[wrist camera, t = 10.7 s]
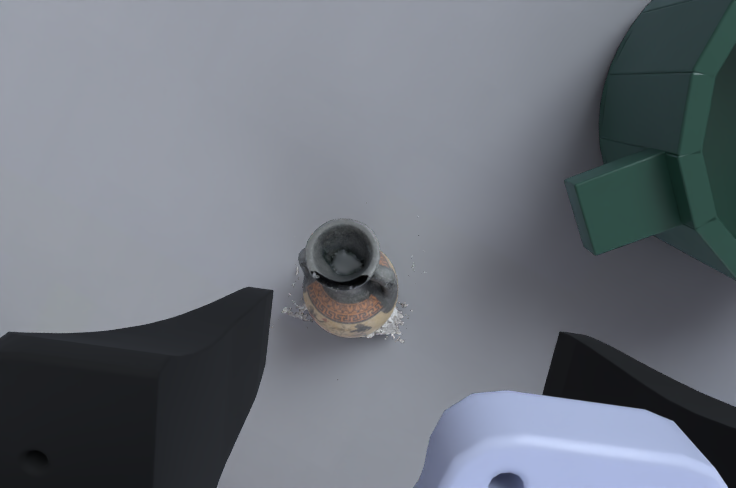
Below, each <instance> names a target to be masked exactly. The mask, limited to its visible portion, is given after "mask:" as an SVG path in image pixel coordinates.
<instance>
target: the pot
mask: <svg viewBox="0 0 736 488" xmlns="http://www.w3.org/2000/svg"><path fill="white" fill-rule="evenodd" d="M599 137H600V148H601V153H602V158H603V163H604V165H602V166H599V167H596V168H594V169H591V170H588V171H586V172H583V173H580V174H578V175H575V176H572V177H570V178H567V179H565V180H564V183H565V186H566V189H567V193H568V196H569V199H570V203H571V206H572V209H573V213H574V216H575V219H576V223H577V226H578V229H579V233H580V236H581V239H582V243H583V246H584V247H585V248H586V249H587V250H589V251H590V252H591V253H592V254H594V255H599V254H602V253H605V252H608V251H610V250H613V249H616V248H619V247H622V246H624V245H627V244H630V243H633V242H636V241H638V240H641V239H644V238H647V237H650V236H652V235H653V236H655V237H657V238H659V239H661V240H662V241H664V242H666V243H668V244H670V245H672V246H673V247H675V248H677V249H679V250H681V251H682V252H684V253H686V254H688V255H690V256H692V257H693V258H695V259H697V260H699V261H701V262H703V263H704V264H706V265H708V266H710V267H712V268H714V269H715V270H717V271H719V272H721V273H723V274H724V275H726V276H728V277H730V278H732V279H734V280H735V281H736V0H652V1H651V2H650V3H649V4H648V5H647V6H646V7H645V9H644V10H643V11H642V13H641V14H640V15H639V17H638V18H637V19H636V20H635V22H634V23H633V24H632V26H631V27H630V29H629V31H628V32H627V34H626V36H625V37H624V39H623V41H622V42H621V44H620V46H619V48H618V50H617V52H616V55H615V57H614V59H613V61H612V63H611V66H610V69H609V72H608V75H607V78H606V81H605V84H604V89H603V94H602V99H601V104H600V115H599Z"/></svg>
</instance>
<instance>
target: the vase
mask: <svg viewBox="0 0 736 488" xmlns="http://www.w3.org/2000/svg"><path fill="white" fill-rule="evenodd" d="M366 203H367V202H366ZM417 217H418V216H417ZM418 236H419V235H418ZM411 259H412V258H411ZM298 261H299V264H300V267H301V268H302V270H303V273H304V280H303V287H302V288H303V297H304V301H305V303H303V304H302V305H301V306H299V305H297V304H295V302H294V303H293V304H295V305H296V306H297V307H296V308H299V312H296V313H295V314H293V312H292V311H291V309H292V308H290V310H288V308H287V307H284V309H283V310H282V311H283V312H281V313H288V315H289V316H293V317H296V318H298V317H300V318H301V319H302V320H304V321H309V319H308V320H306V317H307V316H308V314H306V315H304V313H303V312H304V311H305V310H307V309H308V311H309V313H310V314H309V315H311V316H312V318H313V319H314V320H315V322H316V323H317V324H318V325H319V326H321V327H322V328H323V329H324V330H326V331H328V332H329V333H331V334H334V335H336V336H340V337H346V338H357V337H367V338H368V337H369V338H371V337H373V336H374V335H382V334H386V335H387V334H392V335H391V336H393V338H395V336H394V335H393V334H398V335H401V332H400V331H399V328H398V324H401V325H402V326H403V323H404V322H402V321H401V320H400V319H401V318H403V315H402V311H398V310H397V308H398V307H396V306H395V305H396V302H397V297H398V280H397V276H396V272H395V270H394V267H393V265H392V263H391V262H390V260H389V259H388V258H387V257H386V255H385V254H383V253H382V252H381V251H380V247H379V242H378V240H377V238H376V236H375V234H374V232H373V231H372V230H371V229H370V228H369V227H368V226H366V225H365V224H363V223H361V222H358V221H356V220H352V219H335V220H331V221H329V222H326V223H325V224H323V225H322V226H321V227H319V228H318V229H317V230H316V231H315V232H314V233H313V234H312V235H311V237H310V238H309V240H308V241H307V245H306V248H304V249H303V250H302V251H301V252H300V253H299V257H298ZM413 264H414V263H413ZM295 265H296V264H295ZM414 266H415V265H414ZM412 268H413V265H412ZM413 271H415V270H414V269H413ZM426 273H427V272H426ZM297 274H298V267H297V273H296V275H297ZM421 274H422V273H421ZM408 276H409V275H408ZM298 280H299V278H298ZM295 282H296V281H295ZM415 284H416V283H415ZM292 286H293V287H294V283H293V284H292ZM289 295H290V296H291V293H290V294H289ZM301 300H303V299H302V298H301ZM291 301H292V302H293V300H291ZM398 303H399V304H400V302H398ZM404 303H405V304H403V303H402V304H403V305H402V304H401V305H402V307H407V306H408V304H406V302H404ZM410 311H411V310H410ZM412 311H413V309H412ZM406 315H407V314H406ZM313 319H310V322H313ZM407 319H409V318H407ZM278 320H279V319H278ZM311 320H312V321H311ZM273 325H274V324H273ZM406 326H407V325H406ZM271 328H273V327H271ZM307 328H308V327H307ZM406 329H407V328H406ZM402 335H403V334H402ZM386 337H388V336H386ZM399 338H400V337H398V339H397V341H398V340H399ZM384 339H385V340H386V338H384ZM404 341H405V340H401V339H400V342H401V343H404ZM395 342H396V341H395ZM337 380H338V379H337Z"/></svg>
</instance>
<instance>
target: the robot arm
mask: <svg viewBox="0 0 736 488" xmlns="http://www.w3.org/2000/svg"><path fill="white" fill-rule="evenodd" d="M272 299H273V290H267V289H260V288H253V287H246V288H243V289H241V290H238V291H236V292H234V293H232V294H230V295H228V296H225V297H223V298H221V299H219V300H217V301H214V302H212V303H210V304H208V305H205V306H203V307H200V308H198V309H195V310H192V311H190V312H187V313H185V314H182V315H179V316H176V317H173V318H169V319H166V320H162V321H158V322H154V323H150V324H146V325H141V326H134V327H128V328H122V329H116V330H109V331H98V332H85V333H21V332H8V333H7V334H5V335H4V336H2V337H1V338H0V488H217V485H218V482H219V479H220V476H221V474H222V471H223V469H224V466H225V464H226V462H227V459H228V457H229V455H230V453H231V451H232V449H233V446H234V444H235V442H236V440H237V438H238V435H239V433H240V431H241V429H242V427H243V424H244V422H245V420H246V418H247V416H248V413H249V411H250V409H251V407H252V405H253V402H254V400H255V398H256V395H257V392H258V388H259V385H260V382H261V378H262V374H263V371H264V367H265V362H266V353H267V344H268V335H269V326H270V317H271V308H272ZM413 488H736V407H734V406H732V405H729V404H727V403H724V402H722V401H720V400H717V399H715V398H712V397H710V396H707V395H705V394H703V393H701V392H699V391H696V390H694V389H692V388H690V387H688V386H686V385H684V384H682V383H680V382H678V381H676V380H674V379H672V378H670V377H668V376H666V375H664V374H662V373H660V372H658V371H656V370H654V369H652V368H650V367H648V366H647V365H645V364H643V363H641V362H639V361H637V360H635V359H634V358H632V357H630V356H628V355H626V354H624V353H622V352H621V351H619V350H617V349H615V348H613V347H611V346H609V345H607V344H605V343H603V342H601V341H599V340H597V339H594V338H592V337H589V336H586V335H581V334H574V333H567V332H559V336H558V339H557V343H556V347H555V350H554V354H553V358H552V361H551V365H550V369H549V372H548V376H547V379H546V383H545V387H544V390H543V394H542V395H537V394H530V393H523V392H516V391H508V390H503V391H492V392H482V393H472V394H471V395H469V396H467V397H466V398H464V399H463V400H461V401H459V402H458V403H456V404H454V405H453V406H451V407H450V408H448V409H446V410H445V411H444V412H443V414H442V416H441V418H440V420H439V422H438V423H437V425H436V427H435V429H434V431H433V433H432V434H431V436H430V440H429V444H428V449H427V454H426V458H425V463H424V468H423V470H422V473H421V475H420V478H419V481H418V482H417V483H416V485H415V486H414V487H413Z"/></svg>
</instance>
